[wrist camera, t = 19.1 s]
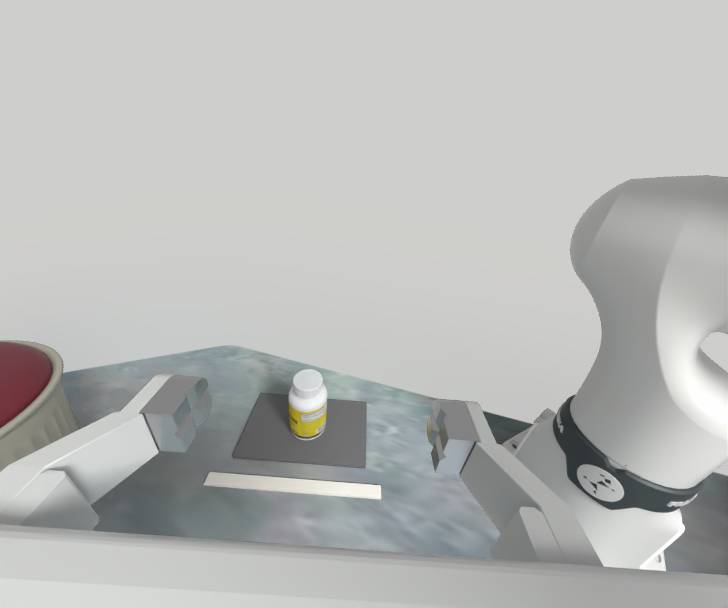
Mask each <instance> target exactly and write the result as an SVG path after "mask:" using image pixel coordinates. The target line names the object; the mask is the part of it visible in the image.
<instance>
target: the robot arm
mask: <svg viewBox="0 0 728 608" xmlns="http://www.w3.org/2000/svg"><path fill="white" fill-rule="evenodd" d="M570 255H571V261H572V264H573V267H574V270H575V272H576V274H577V275H578V277H579V278H580V279H581V281H582V282H583V283H584V284H585V286H586V287H587V289H588V290H589V292H590V293H591V295H592V297H593V299H594V301H595V303H596V306H597V309H598V312H599V316H600V320H601V327H602V339H601V345H600V350H599V353H598V355H597V358H596V360H595V362H594V364H593V366H592V368H591V370H590V372H589V374H588V376H587V377H586V379H585V381H584V383H583V384H582V386H581V388H580V389H579V391H578V392H577V394H576V395H573V396H571V397H570V398H568V399H567V401H566V402H565V403H563V404H562V405H561V407H560V408H559V410H558V412H557V414H555V413H554V412H553V411H551V410H550V409H548V408H547V409H546V410H544V411H543V412H542V414H541V415H540V416H539V417H538V418H537V419H536V420H535V421H534V425H533V426H531V427H530V428H528V429H526V430H524V431H523V432H521V433H519V434H517V435H516V436H514V437H512V438H511V439H509V440H507V441H505V442H504V443H503V444H502V445H501V444H497V443H496V441H495V438H494V436H493V434H492V432H491V429H490V427H489V425H488V423H487V420H486V418H485V416H484V414H483V411H482V409H481V407H480V405H479V404H478V403H477V402H469V401H459V400H446V399H445V400H444V399H435V400H434V402H433V404H432V408H433V412H432V413H430V414H429V417H428V420H427V435H428V440H429V442H430V443H431V445H432V446H433V450H432V452H431V455H432V460H433V465H434V470H435V473H443V474H452V475H460V478H461V479H462V481H463V482H464V483H465V485H466V486H467V488H468V489H469V490H470V492H471V493H472V494H473V496H474V497H475V498H476V500H477V501H478V503H479V504H480V505H481V507H482V508H483V509H484V511H485V512H486V514H487V515H488V516H489V518H490V519H491V520H492V522H493V523H494V524H495V526H496V527H497V529H498V530H499V531H500V533H501V534H500V535H499V537H498V538H497V539H496V541H495V542H494V543H493V545H492V546H491V548H490V552H491V555H492V559H488V558H474V557H460V556H446V555H432V554H417V553H403V552H389V551H375V550H361V549H347V548H332V547H318V546H304V545H290V544H276V543H262V542H247V541H233V540H219V539H205V538H190V537H176V536H162V535H148V534H133V533H119V532H105V531H93V530H94V528H95V527H96V525H97V524H98V523H99V516H98V515H97V513H96V512H95V511H94V509H93V508H92V507H91V505H92V504H93V503H94V502H96V501H97V500H98V499H100V498H101V497H102V496H103V495H105V494H106V493H107V492H109V491H110V490H111V489H113V488H114V487H115V486H116V485H118V484H119V483H120V482H122V481H123V480H124V479H125V478H127V477H128V476H129V475H131V474H132V473H133V472H134V471H136V470H137V469H138V468H140V467H141V466H142V465H143V464H145V463H146V462H147V461H149V460H150V459H151V458H152V457H154V456H155V455H156V454H158V453H159V451H167V452H186V451H187V449H188V448H189V446H190V445H191V443H192V441H193V440H194V438H195V436H196V435H197V431H196V427H198V426H199V425H201V424H202V423H204V422H205V420H206V418H207V417H208V415H209V412H210V409H211V395H210V394H209V393H208V392H207V391H206V388H207V387H208V383H207V380H206V379H204V378H198V377H189V376H181V375H170V374H161V373H160V374H158V375H156V376H154V377H153V378H152V379H151V380H150V381H149V382H148V383H147V384H146V385H145V386H144V387H143V388H142V390H141V391H140V392H139V393H138V394H137V395H136V396H135V397H134V398H133V399H132V400H131V401H130V402H129V403H128V404H127V405H126V406H125V407H124V408H123V409H122V410H121V411H120V412H113V413H111V414H109V415H107V416H105V417H103V418H101V419H99V420H97V421H95V422H93V423H91V424H89V425H87V426H85V427H83V428H81V429H79V430H77V431H75V432H73V433H71V434H69V435H67V436H65V437H63V438H61V439H59V440H57V441H56V442H54V443H52V444H50V445H48V446H46V447H44V448H42V449H40V450H38V451H36V452H34V453H32V454H30V455H28V456H26V457H24V458H22V459H20V460H18V461H16V462H14V463H12V464H10V465H8V466H7V467H6V468H5V469H3V470H2V471H1V472H0V608H728V575H715V574H700V573H686V572H672V571H666V568H665V561H664V553H663V550H664V549H665V548H667V547H668V546H669V545H670V544H671V543H672V542H673V541H675V540H676V539H677V538H678V537H679V536H680V535H681V534H682V533H683V532H684V530H685V527H684V525H683V524H682V515H681V512H680V509H679V508H680V507H681V506H683V505H686V504H688V503H689V502H691V501H692V500H693V499H694V498H695V497H696V496H697V493H698V492H699V491H700V490H701V489H702V488H703V486H704V483H705V481H704V478H706V477H707V476H708V475H710V474H711V473H712V472H713V471H715V470H716V469H717V468H719V467H720V466H721V465H722V464H724V463H725V462H726V461H728V373H727V372H726V371H725V370H724V369H722V368H721V367H720V366H719V365H718V364H716V363H715V362H714V361H713V360H711V359H710V358H709V357H708V356H707V355H706V354H705V353H704V352H703V351H702V350H701V349H700V345H701V343H702V341H703V340H704V339H705V338H706V337H707V336H708V335H709V334H710V333H713V332H721V333H726V334H728V177H718V176H708V175H704V176H676V177H658V178H642V179H631V180H628V181H626V182H624V183H622V184H620V185H618V186H616V187H615V188H613V189H611V190H610V191H608V192H607V193H605V194H604V195H602V196H601V197H600V198H599V199H598V200H596V201H595V202H594V203H593V204H592V205H591V206H590V207H589V208H588V209H587V211H586V212H585V213H584V214H583V216H582V217H581V219H580V220H579V222H578V224H577V225H576V227H575V230H574V233H573V235H572V239H571V245H570ZM513 447H514V448H513Z"/></svg>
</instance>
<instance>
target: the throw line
mask: <svg viewBox="0 0 728 608" xmlns="http://www.w3.org/2000/svg"><path fill="white" fill-rule="evenodd" d="M203 485H204V486H213V487H226V488H239V489H252V490H265V491H278V492H291V493H304V494H317V495H330V496H343V497H356V498H369V499H381V485H369V484H356V483H344V482H331V481H318V480H306V479H293V478H280V477H268V476H255V475H242V474H230V473H217V472H209V474H208V476H207V478H206V480H205V482H204V484H203Z"/></svg>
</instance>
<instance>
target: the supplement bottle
mask: <svg viewBox="0 0 728 608" xmlns="http://www.w3.org/2000/svg"><path fill="white" fill-rule="evenodd" d="M288 399H289V417H290V429H291V432H292V434H293V435H294V436H295V437H296V438H298V439H300V440H313V439H315V438H317V437H319V436H320V435H321V434H322V433H323V431H324V429H325V426H326V412H327V390H326V387H325V386H324V385H323V378H322V375H321V374H320V373H319V372H318V371H315V370H312V369H306V370H302V371H300V372H298V373H297V374H296V375H295V376H294V378H293V386H292V388H291V389H290V391H289V398H288Z"/></svg>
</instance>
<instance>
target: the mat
mask: <svg viewBox="0 0 728 608" xmlns="http://www.w3.org/2000/svg"><path fill="white" fill-rule="evenodd" d="M288 398H289V395H279V394H268V393H261V394H260V396H259V398H258V401H257V403H256V405H255V407H254V410H253V412H252V414H251V416H250V418H249V421H248V423H247V425H246V427H245V430H244V432H243V434H242V436H241V438H240V441H239V443H238V445H237V447H236V449H235V452H234V454H233V458H243V459H255V460H268V461H280V462H292V463H305V464H317V465H330V466H342V467H354V468H365V465H366V402H358V401H347V400H336V399H327V412H326V426H325V429H324V431H323V433H322V434H321V435H320V436H319V437H317V438H315V439H313V440H300V439H298V438H296V437H295V436H294V435H293V434H292V432H291V429H290V417H289V399H288Z"/></svg>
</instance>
